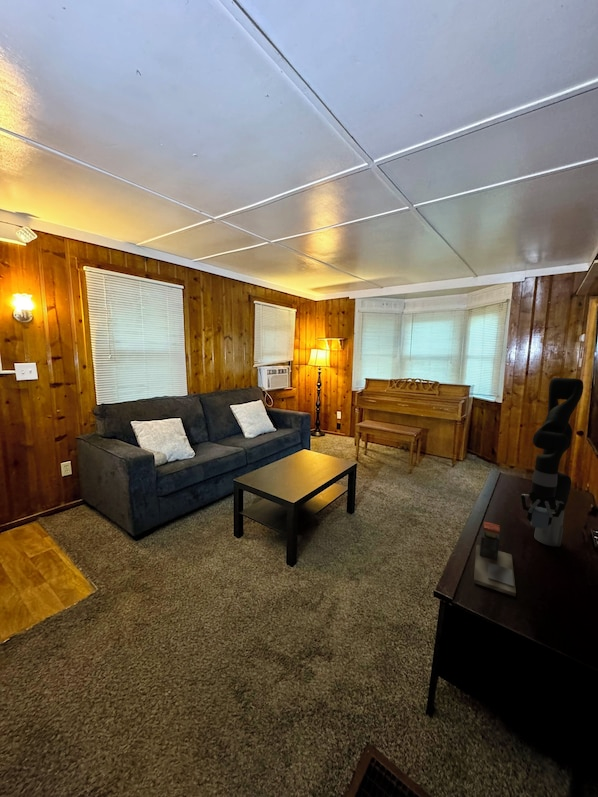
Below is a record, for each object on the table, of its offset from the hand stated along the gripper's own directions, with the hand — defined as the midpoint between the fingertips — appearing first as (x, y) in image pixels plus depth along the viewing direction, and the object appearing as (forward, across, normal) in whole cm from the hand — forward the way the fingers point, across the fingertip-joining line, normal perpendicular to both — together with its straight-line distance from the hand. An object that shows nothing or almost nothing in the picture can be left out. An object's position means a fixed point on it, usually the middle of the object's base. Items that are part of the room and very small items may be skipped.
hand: (538, 522), depth 126 cm
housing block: (+1, 0, 0) cm, 1 cm away
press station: (+19, +13, +10) cm, 26 cm away
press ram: (+12, +15, +3) cm, 20 cm away
